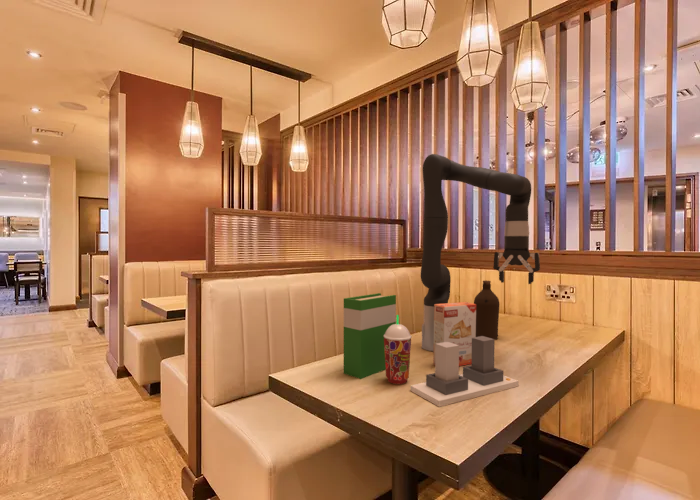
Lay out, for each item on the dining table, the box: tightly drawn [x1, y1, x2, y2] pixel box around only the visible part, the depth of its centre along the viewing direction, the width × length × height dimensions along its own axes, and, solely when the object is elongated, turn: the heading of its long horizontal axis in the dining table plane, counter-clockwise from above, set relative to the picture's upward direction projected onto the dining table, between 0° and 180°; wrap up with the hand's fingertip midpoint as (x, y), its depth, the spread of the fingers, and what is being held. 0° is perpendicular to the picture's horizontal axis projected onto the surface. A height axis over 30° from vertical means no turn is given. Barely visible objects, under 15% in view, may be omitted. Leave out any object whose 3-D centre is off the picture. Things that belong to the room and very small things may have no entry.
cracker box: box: [432, 301, 476, 367], centre depth 132 cm, size 14×6×21 cm, turn 115°
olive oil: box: [473, 280, 500, 340], centre depth 168 cm, size 11×11×25 cm
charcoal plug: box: [471, 336, 496, 374], centre depth 113 cm, size 4×4×12 cm
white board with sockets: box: [409, 342, 520, 408], centre depth 110 cm, size 12×30×14 cm, turn 118°
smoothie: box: [384, 314, 412, 385], centre depth 116 cm, size 8×8×20 cm
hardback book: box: [343, 292, 397, 380], centre depth 126 cm, size 18×7×24 cm, turn 136°
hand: (516, 283), depth 129 cm, fingers open, 8 cm apart
